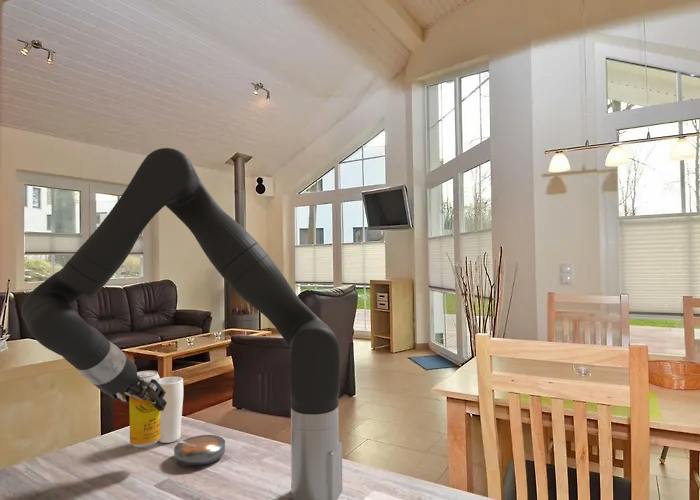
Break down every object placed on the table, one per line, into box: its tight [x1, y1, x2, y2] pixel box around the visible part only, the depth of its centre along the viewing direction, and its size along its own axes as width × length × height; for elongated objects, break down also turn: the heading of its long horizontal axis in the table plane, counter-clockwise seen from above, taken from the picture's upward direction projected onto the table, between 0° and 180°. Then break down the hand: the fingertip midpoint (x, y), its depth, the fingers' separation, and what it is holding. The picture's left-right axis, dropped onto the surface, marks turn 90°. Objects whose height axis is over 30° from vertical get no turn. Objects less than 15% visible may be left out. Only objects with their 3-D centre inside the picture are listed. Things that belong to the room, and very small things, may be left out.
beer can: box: [128, 370, 161, 448], centre depth 95 cm, size 6×6×15 cm
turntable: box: [173, 434, 226, 467], centre depth 99 cm, size 11×11×2 cm
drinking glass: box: [158, 376, 184, 444], centre depth 109 cm, size 7×7×15 cm
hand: (150, 405), depth 97 cm, fingers closed on beer can, 6 cm apart
